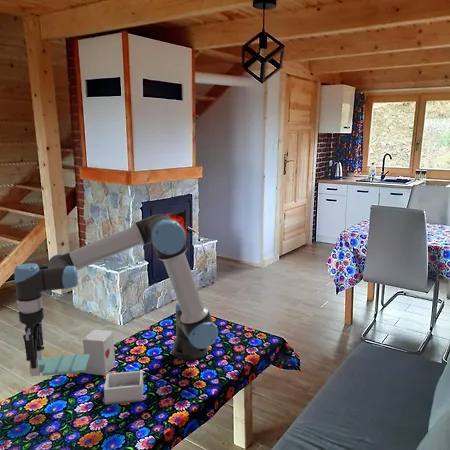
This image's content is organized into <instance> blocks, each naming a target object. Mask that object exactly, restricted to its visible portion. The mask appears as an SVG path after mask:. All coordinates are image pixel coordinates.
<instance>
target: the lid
mask: <svg viewBox="0 0 450 450" xmlns="http://www.w3.org/2000/svg"><path fill="white" fill-rule="evenodd" d="M89 357H90V354H84V353H82V354H71V355H64V354H63V355H59V356H50V357H49V358H43V359H39V368H40V374H41V375H42V376H45V377H46V376H55V375H68V374H79V373H85V370H86V367H87V363H88V360H89ZM29 374H30V375H31V369H30V364H29Z"/></svg>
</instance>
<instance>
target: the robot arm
mask: <svg viewBox="0 0 450 450" xmlns="http://www.w3.org/2000/svg"><path fill="white" fill-rule="evenodd" d="M186 238H187V237H186V232H185V230H184V227H183V226H182V225H181V224H180V223H178V221H176V220H174V219H172V218H171V217H170V216H169V215H166V214H162V213H160V214H159V213H158V214H153V215H150V216H148V217H145V218H143V219H141V220H138V221H136V222H133V224H132V225H131V226H130V227H128V228H126V229H123V230H121V231H118V232H116V233H114V234H111V235H108V236H106V237H104V238H101V239H99V240H97V241H94V242H91V243H89V244H87V245H83V246H82V247H79V248H76V249H74V250H72V251H69V252H66V253H64V254H60V253H59V254H58V253H57V254H54V255H53V256H51V257H50V258H49V260H48V262H47V268H41V269H40V267H39V265H38V263H34V262H32V263H29V262H28V263H27V262H26V263H23V264H20V265H17V266H16V267H15V268H14V270H13V272H14V284H15V293H16V302H15V303H16V304H17V307H18V319H19V322H20V323H21V324H23V325H25V327H24V332H25V334H23V337H22V338H23V341H24V347H25V348H24V350H25V355H26V356H25V357H26V361H27V362H29V365H30V367H29V370H30V369H31V374H30V376H31V377H39V376H41V373H40V368H39V359H44V356H43V351H44V350H45V346H44V336H43V324H42V323H43V322H42V321H43V319H44V317H45V315H44V308H43V307H44V305H43V295H42V292H48V291H57V290H64V289H65V290H68V289H71V288H77V286H79V285H78V284H79V278H78V271H80V270H83V269H84V268H86V267H89V266H92V265H94V264H96V263H99V262H102V261H104V260H106V259H108V258H111V257H114V256H116V255H118V254H121V253H123V252H125V251H127V250H130V249H133V248H135V247H137V246H142V247H143V246H146V245H149V244H152V247H153V249H154V252H155V255H156V257H157V259H158V260H159V261H162V262H163V264H164V267H165V270H166V273H167V275H168V278H169V280H170V281H169V282H170V284H171V286H172V289H173V292H174V295H175V297H176V300H177V303H176V304H175V328H176V336H175V338H174V339H175V340H174V342H173V346H172V353H173V355H174V357H176V358H177V359H180V360H184V361H185V360H186V361H193V360H198V359H201V358H203V357H205V356H206V355H207V354H208V353H209V352H208V351H209V349H208V347H209V348H210V346H212V345H213V344H214V343H215V342H216V340H217V338H218V335H219V330H218V327H217V325H216V323H214V321H213V319H212V316H211V313H210V310H209V307H208V306H205V305H203V304H204V303H203V301H202V299H201V296H200V293H199V290H198V287H197V284H196V282H195V278H194V276H193V273H192V270H191V267H190V264H189V262H188V258H187V255H186V252H187V251H188V245H187V243H186V241H187V240H186Z"/></svg>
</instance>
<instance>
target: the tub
mask: <svg viewBox="0 0 450 450" xmlns="http://www.w3.org/2000/svg"><path fill="white" fill-rule="evenodd" d="M103 395H104V405H105V406H107V405H115V404H126V403H134V402H135V403H136V402H143V399H144V371H143V370H134V371H133V370H132V371H124V372H112V373H107V374H106V377H105V382H104V386H103Z"/></svg>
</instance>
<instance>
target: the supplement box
mask: <svg viewBox="0 0 450 450" xmlns="http://www.w3.org/2000/svg"><path fill="white" fill-rule="evenodd" d="M82 345H83V354H90V357H89V360H88V363H87V367H86V370H85V372H84V373H85V374H87V375H88V374H89V375H97V376H106V377H107V374H109V372H110V371H111V370H112V369H113V368H114V366H115V365H116V355H115V341H114V331H111V330H101V329H93V330H92V331H91V332H90V333H89V332H88V334H87V335H86V336H85V337H84V338H83V339H82Z"/></svg>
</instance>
